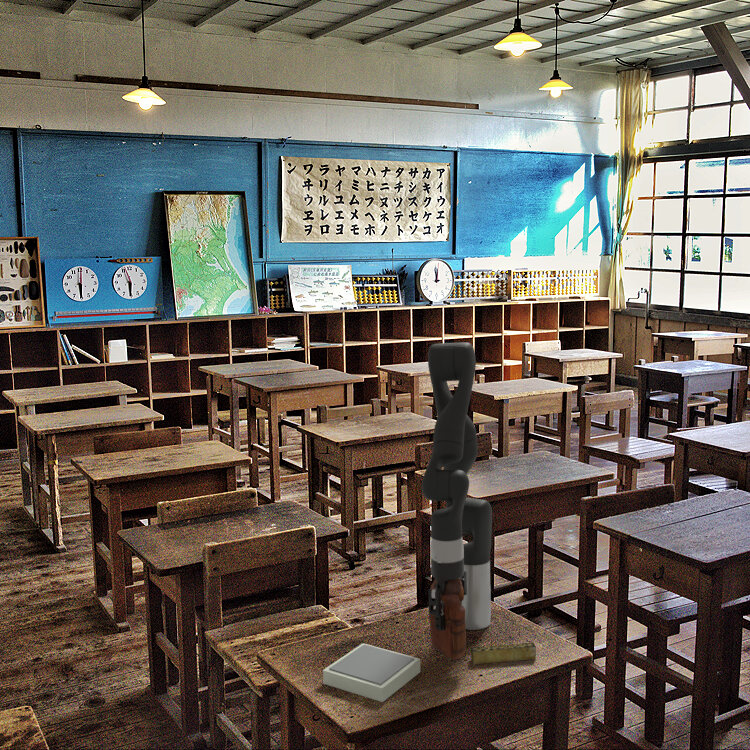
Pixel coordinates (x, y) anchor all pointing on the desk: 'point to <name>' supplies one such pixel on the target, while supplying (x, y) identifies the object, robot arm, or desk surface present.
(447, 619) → the wooden figurine
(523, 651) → the decorative block
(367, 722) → the desk surface
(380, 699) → the plinth
